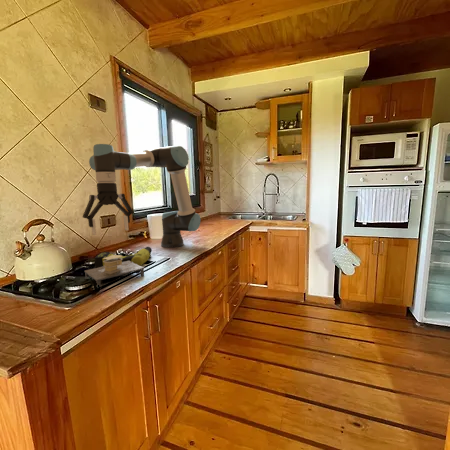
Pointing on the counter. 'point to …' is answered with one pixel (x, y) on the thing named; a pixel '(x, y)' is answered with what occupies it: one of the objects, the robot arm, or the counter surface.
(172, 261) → the counter surface
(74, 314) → the counter surface
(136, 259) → the cordless drill
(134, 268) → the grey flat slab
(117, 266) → the stacked layers on plate
